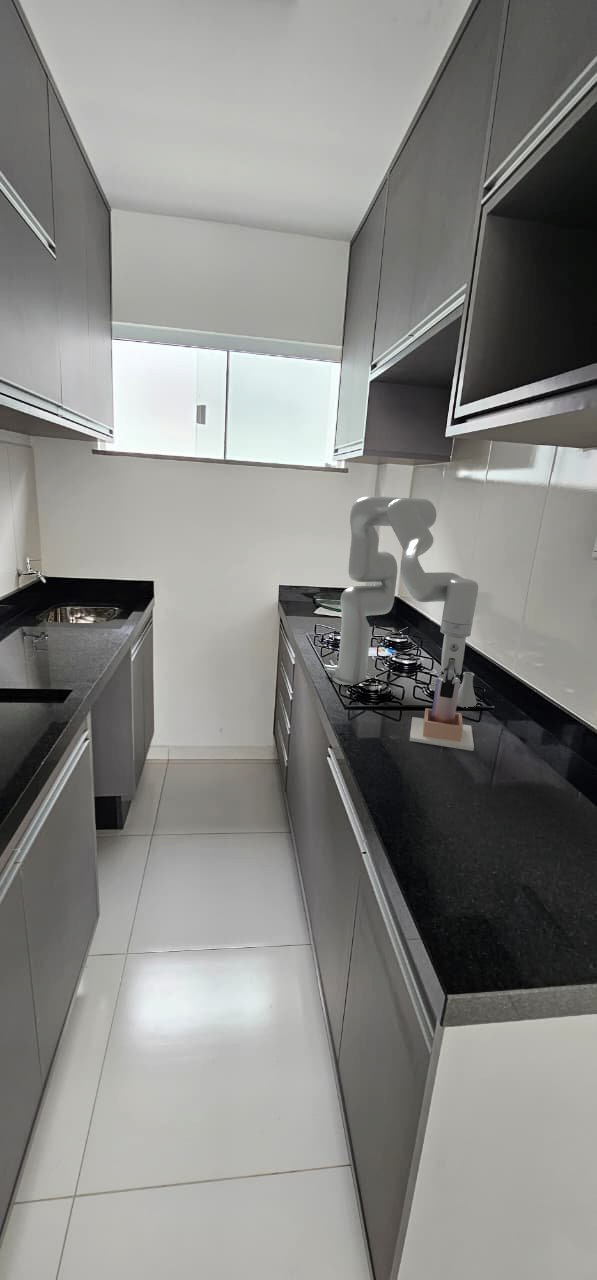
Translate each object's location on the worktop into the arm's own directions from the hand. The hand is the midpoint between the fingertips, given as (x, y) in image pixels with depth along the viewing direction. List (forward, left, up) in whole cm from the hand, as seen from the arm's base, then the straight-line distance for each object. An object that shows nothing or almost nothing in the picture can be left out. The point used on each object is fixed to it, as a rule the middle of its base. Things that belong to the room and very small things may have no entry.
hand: (445, 690), depth 152 cm
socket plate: (0, 0, -12) cm, 12 cm away
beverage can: (0, 0, -12) cm, 12 cm away
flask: (+7, +26, -13) cm, 29 cm away
